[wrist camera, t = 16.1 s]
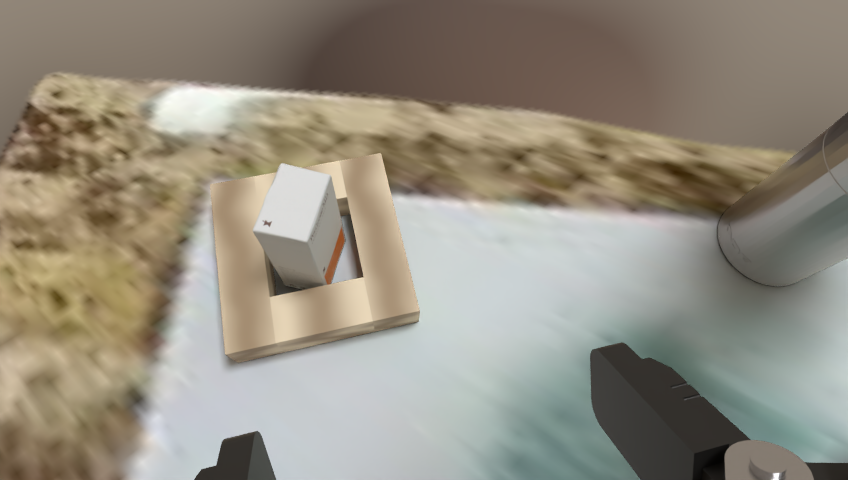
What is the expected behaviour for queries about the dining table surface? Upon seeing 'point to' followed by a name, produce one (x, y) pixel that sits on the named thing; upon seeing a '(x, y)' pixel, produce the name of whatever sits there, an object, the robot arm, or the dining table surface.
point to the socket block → (320, 306)
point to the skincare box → (301, 227)
